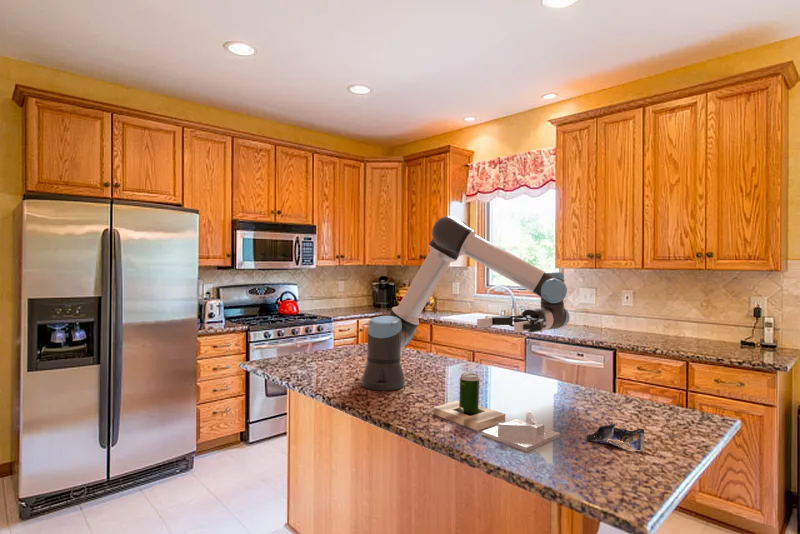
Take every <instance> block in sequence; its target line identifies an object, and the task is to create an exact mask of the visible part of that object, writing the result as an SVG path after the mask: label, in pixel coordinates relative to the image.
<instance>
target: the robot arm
mask: <svg viewBox="0 0 800 534" xmlns="http://www.w3.org/2000/svg"><path fill="white" fill-rule="evenodd" d="M431 235H432V239H431V240H430V242H429V243H428V248H429V252H428V253H427V256H426V258H424V259H423V263H422V264H421V266H420V268H418V271H417V273H416V274H415V276H414V278H413V279H412V282H411V283H410V285H409V287H408V288H407V290H406V292H404V295H403V297H402V299H401V301H399V304H398V305H397V306H393V307H392V308H391V310H390V311H389V313H388V314H387V315H380V316H374V317H371V319H369V321H368V325H367V345H366V346H367V350H366V351H367V354H366V355H367V356H366V365H365V367H364V371H363V374H362V376H361V380H360V383H361V384H360V385H361V387H363V388H365V389H368V390H372V391H379V392H380V391H396V390H401V389H403V388H405V386H406V379H405V377H404V372H403V369H402V364H401V356H402V355H401V354H402V348H404V347H406V346H408V345H409V344H410V343H411V341H412V340H413V339H414V337H415V333H416V332H415V331H416V330H417V328H418V327H419V324H420V322H419V321H420V320H419V317H420V315H421V313H422V311H423V309H424V308H425V307H426V305H427V303H428V301H429V300H430V297H431V296H432V295H433V293H434V291H435V289H436V287H437V286H438V284H439V282H440V281H441V279H442V277H443V276H444V274H445V272H446V271H447V269H448V267H449V266H450V264H451V263H453V262H456V261H458V258H459V256H466V257H468V258H470V259H471V260H474V261H475V262H477V263H479V264H480V265H482V266H484V267H486V268H488V269H490V270H492V271H493V272H495V273H497V274H499V275H501V276H502V277H505V278H506V279H508V280H510V281H511V282H513V283H515V284H517V285H519V286H520V287H522V288H525V289H526V290H528V291H529V292H531V293H533V294H535V295H536V296H538V297H540V307H537V308H528V309H525V310H523V312H522V313H521V314H517V315H511V314H510V315H499V316H498V315H497V316H495V315H494V316H493V315H492V316H488V315H487V316H485V317H481V318H480V317H479V318H477V319H476V328H481V329H482V328H487V327H488V328H491V327H493V326H510V327H511V328H513V332H514V333H521V332H528V333H536V332H537V333H538V332H540V333H543V331H549V330H558V329H561V328H563V327H565V326H566V325H568V324H569V322H570V313H569V312H568V309H567V308H565V302H564V301H565V300H564V299H565V298H566V296H567V294H568V288H567V285H566V283H565V280H564V273H563V272H561V271H560V272H559V271H544V270H542V269H539V268H538V267H537V266H535V265H532V264H530V263H529V262H527V261H526V260H523V259H522V258H520V257H518V256H516V255H515V254H512V253H511V252H509V251H507V250H505V249H503V248H501V247H499V246H498V245H495V244H494V243H492V242H490V241H488V240H487V239H484V238H482V237H481V236H479V235H477V234H476V232H475V230H474V229H473V228H471V227H469V226H468V224H467V223H466V222H464V221H463V220H462V219H460V218H458V217H455V216H452V215H445V216H442V217H440V218H439V219H437V220H436V221H435V223H434V224H433V227H432V230H431Z"/></svg>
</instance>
